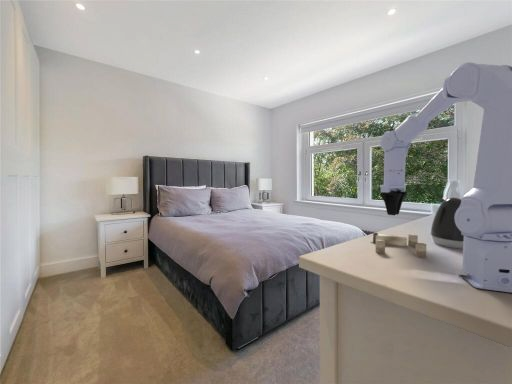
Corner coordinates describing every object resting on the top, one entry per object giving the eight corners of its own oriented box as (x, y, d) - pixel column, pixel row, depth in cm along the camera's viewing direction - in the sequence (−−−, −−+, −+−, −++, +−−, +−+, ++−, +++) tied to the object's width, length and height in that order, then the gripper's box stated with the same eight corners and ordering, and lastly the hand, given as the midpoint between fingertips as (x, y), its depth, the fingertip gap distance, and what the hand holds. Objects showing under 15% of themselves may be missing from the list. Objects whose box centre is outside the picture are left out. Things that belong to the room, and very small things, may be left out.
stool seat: (433, 265, 55) (434, 247, 55) (372, 258, 60) (373, 242, 59) (415, 248, 68) (416, 234, 68) (367, 244, 73) (367, 230, 73)
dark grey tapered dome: (456, 244, 73) (458, 196, 72) (485, 254, 63) (488, 199, 62) (422, 243, 74) (424, 196, 73) (445, 253, 64) (448, 198, 63)
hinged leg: (373, 243, 69) (373, 233, 69) (372, 241, 71) (372, 232, 71) (406, 246, 66) (407, 235, 66) (405, 244, 68) (405, 234, 68)
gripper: (389, 172, 80) (388, 211, 81) (370, 171, 71) (369, 215, 71) (413, 171, 74) (412, 213, 75) (396, 170, 65) (394, 218, 66)
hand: (393, 214), depth 73 cm, fingers closed
